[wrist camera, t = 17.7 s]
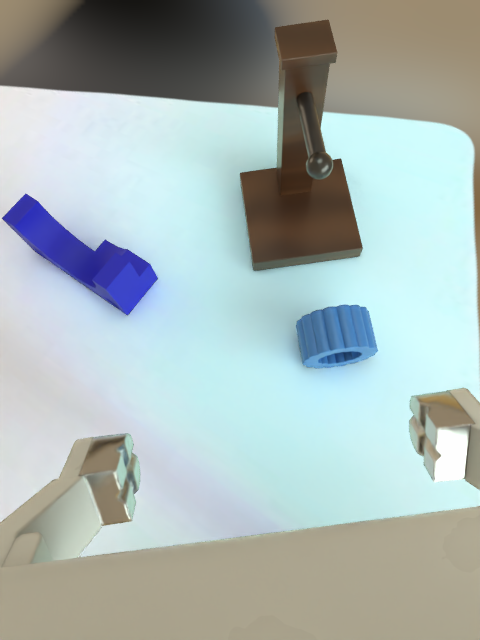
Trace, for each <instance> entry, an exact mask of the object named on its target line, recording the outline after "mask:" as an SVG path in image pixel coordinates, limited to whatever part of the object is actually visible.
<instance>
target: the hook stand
mask: <svg viewBox="0 0 480 640" xmlns="http://www.w3.org/2000/svg"><path fill="white" fill-rule="evenodd" d="M275 41H276V46H277V51H278V56H279V97H278V139H277V168H271V169H264V170H257V171H249V172H242V173H240V181H241V188H242V195H243V202H244V209H245V216H246V222H247V229H248V236H249V243H250V250H251V256H252V263H253V270H254V271H256V270H264V269H271V268H278V267H285V266H293V265H300V264H307V263H315V262H322V261H329V260H336V259H344V258H351V257H358V256H360V254H361V251H362V249H363V247H362V243H361V239H360V235H359V231H358V227H357V222H356V218H355V214H354V210H353V206H352V202H351V198H350V193H349V189H348V185H347V181H346V177H345V173H344V169H343V164H342V160H341V159H335V160H332V158H331V157H330V156H329V155H328V154H327V153H326V151H325V146H324V142H323V138H322V133H321V129H320V128H321V121H322V114H323V107H324V99H325V93H326V86H327V79H328V72H329V65H330V63H335V62H336V57H337V50H336V46H335V42H334V38H333V35H332V31H331V27H330V23H329V20H322V21H316V22H309V23H302V24H295V25H288V26H282V27H276V28H275Z"/></svg>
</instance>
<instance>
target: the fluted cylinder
mask: <svg viewBox="0 0 480 640" xmlns="http://www.w3.org/2000/svg"><path fill="white" fill-rule="evenodd" d="M296 329H297V335H298V341H299V346H300V352H301V358H302V364H303V365H306V367H314V368H322V367H325V368H329V367H334V366H343V365H346V364H351V363H356V362H358V361H361V360H365V359H367V358H369V357H371V356H373V355H375V353H376V352H377V351H378V349H377V345H376V341H375V337H374V332H373V328H372V324H371V320H370V315H369V311H367V309H366V307H360V306H359V305H351V306H349V305H340V306H337V307H327V308H325V309H323V310H316V311H313V312H312V313H311V314H307V315H304V316H303V317H302V319H300V320H298V321H297V325H296Z"/></svg>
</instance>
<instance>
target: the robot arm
mask: <svg viewBox="0 0 480 640" xmlns="http://www.w3.org/2000/svg"><path fill="white" fill-rule="evenodd" d="M410 409H411V411H412V413H413V414H414V415H413V416H412V418H411V419H410V420H409V432H410V437H411V441H412V444H413V446H414V448H415V450H416V452H417V453H418V454H419V455H421V456H423V457H424V466H425V468H426V469H427V471H428V473H429V475H430V476H431V478H432V480H433V481H434V482H439V481H449V480H459V479H465V480H466V481H467V482H469V483H470V484H472V485H473V486H474V487H476V488H477V489H479V490H480V403H479V402H478V400H477V399H476V398H475V397H474V396H473V395H472V394H471V393H470V392H469V390H468V389H466V388H459V389H453V390H447V391H444V392H437V393H429V394H422V395H415V396H411V399H410ZM133 445H134V444H133V441H132V438H131V435H130V434H128V433H125V434H116V435H107V436H98V437H90V438H83V439H78V440H76V441H75V442H74V444H73V447H72V449H71V451H70V454H69V456H68V458H67V461H66V463H65V465H64V467H63V470H62V472H61V474H60V477H59V479H55V480H52V481H51V482H50V483H49V484H48V485H46V486H45V487H44V488H43V489H41V490H40V491H39V492H38V493H36V494H35V495H34V496H33V497H31V498H30V499H29V500H28V501H27V502H25V503H24V504H23V505H22V506H20V507H19V508H18V509H17V510H15V511H14V512H13V513H12V514H10V515H9V516H8V517H7V518H6V519H4V520H3V521H2V522H1V523H0V640H480V506H477V507H470V508H462V509H454V510H446V511H438V512H431V513H423V514H415V515H407V516H399V517H392V518H384V519H376V520H368V521H360V522H353V523H345V524H337V525H329V526H322V527H314V528H306V529H298V530H291V531H283V532H275V533H267V534H259V535H251V536H244V537H236V538H228V539H220V540H212V541H205V542H197V543H189V544H181V545H173V546H165V547H158V548H150V549H142V550H134V551H126V552H119V553H111V554H103V555H95V556H87V557H79V558H77V557H78V556H79V555H80V554H81V552H82V551H83V550H84V549H85V548H86V546H87V545H88V544H89V543H90V541H91V540H92V539H93V538H94V536H95V535H96V534H97V533H98V532H99V530H100V529H101V528H102V527H101V526H104V525H110V524H117V523H123V522H129V521H132V518H133V514H134V509H135V505H136V500H135V497H134V494H135V493H136V492H137V491H138V490H139V485H140V466H139V461H138V457H137V456H136V455H135V454H133V453H132V449H133Z"/></svg>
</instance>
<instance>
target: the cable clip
mask: <svg viewBox="0 0 480 640" xmlns="http://www.w3.org/2000/svg"><path fill="white" fill-rule="evenodd" d="M2 219H3V220H4V221H5V222H6V223H7V224H8V225H9V226H10V227H11V228H12V229H13V230H14V231H15V232H16V233H17V234H18V235H19V236H20V237H21V238H22V239H23V240H24V241H25V242H26V243H27V244H28V245H29V246H30V247H31V248H32V249H33V250H34V251H35V252H37V253H38V254H40V255H41V256H42V257H44V258H45V259H47V260H48V261H50V262H51V263H53V264H54V265H55V266H57V267H58V268H60V269H61V270H63V271H64V272H66V273H67V274H68V275H70V276H71V277H73V278H74V279H76V280H77V281H79V282H80V283H81V284H83V285H84V286H86V287H87V288H89V289H90V290H92V291H93V292H94V293H96V294H97V295H99V296H100V297H102V298H103V299H105V300H106V301H107V302H109V303H110V304H112V305H113V306H115V307H116V308H118V309H119V310H121V311H122V312H123V313H125V314H126V315H128V314H129V313H130V312H131V311H132V309H133V308H134V307H135V306H136V304H137V303H138V302H139V301H140V300H141V298H142V297H143V296H144V295H145V293H146V292H147V291H148V290H149V289H150V287H151V286H152V285H153V284H154V282H155V281H156V280H157V279H158V278H157V276H156V274H155V272H154V270H153V269H152V267H151V265H150V264H149V263H148V262H146V261H145V260H143V259H141V258H140V257H138V256H137V255H135V254H134V253H132V252H131V251H129V250H128V249H122V248H119V247H117V246H115V245H113V244H111V243H110V242H108V241H107V240H104V241H103V243H102V244H101V245H100V246H99V247H98V248H97V250H96V251H93V250H92V249H90V248H89V247H88V246H86V245H85V244H84V243H82V242H81V241H80V240H78V239H77V238H76V237H75V236H73V235H72V234H71V233H70V232H69V231H67V230H66V229H65V228H64V227H63V226H62V225H61V224H59V223H58V222H57V221H56V220H55V219H54V218H53V217H52V216H51V215H50V214H49V213H48V212H47V211H46V210H45V209H44V208H43V207H42V206H41V204H40V203H39V202H38V201H37V200H35V199H33V198H32V197H30V196H29V195H27V194H25V195H24V196H23V197H22V198H21V199H20V200H19V201H18V202H17V203H16V204H15V205H14V206H13V207H12V208H11V209H10V210H9V211H8V213H7V214H6V215H5V216H4V217H3V218H2Z"/></svg>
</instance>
